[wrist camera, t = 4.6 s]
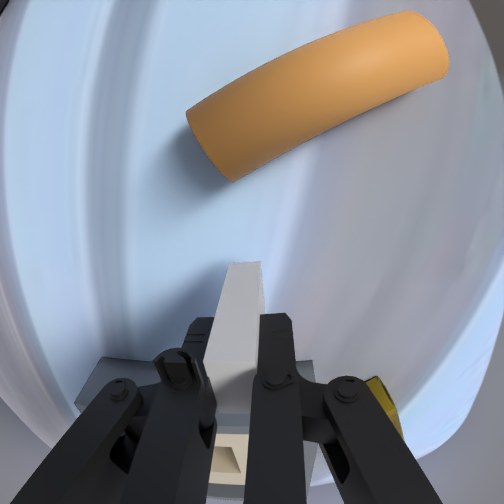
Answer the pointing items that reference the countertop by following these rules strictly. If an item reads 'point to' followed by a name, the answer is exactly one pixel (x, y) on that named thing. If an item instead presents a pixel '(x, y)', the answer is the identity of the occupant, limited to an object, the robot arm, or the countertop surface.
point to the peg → (316, 90)
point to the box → (228, 426)
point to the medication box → (385, 402)
